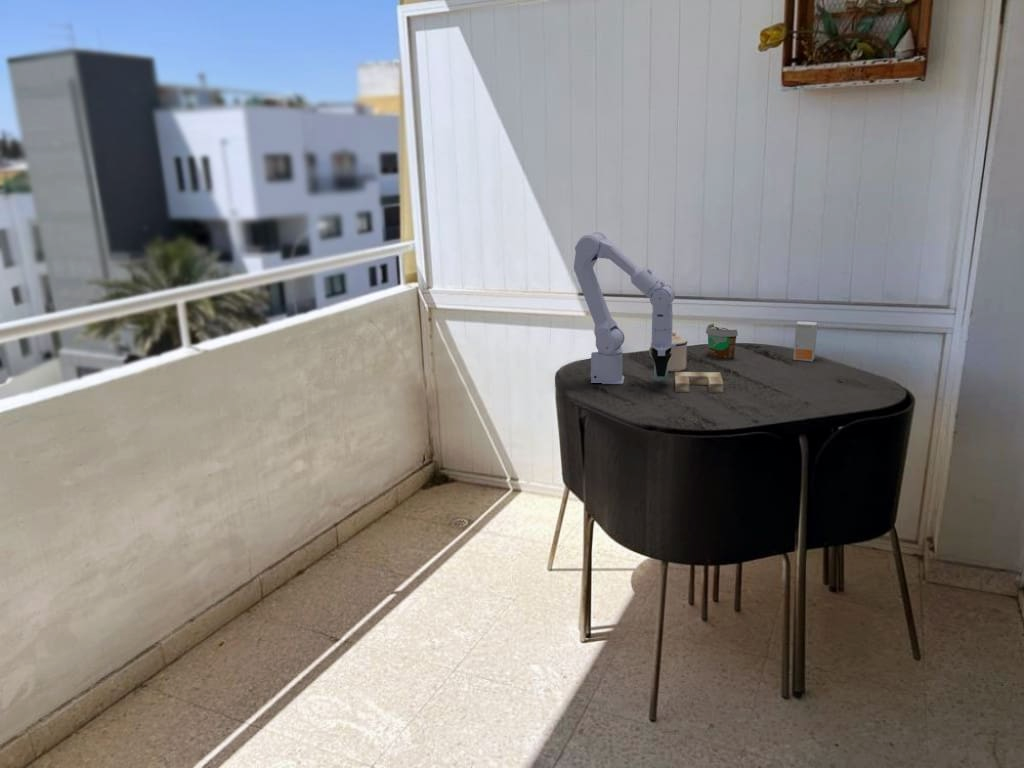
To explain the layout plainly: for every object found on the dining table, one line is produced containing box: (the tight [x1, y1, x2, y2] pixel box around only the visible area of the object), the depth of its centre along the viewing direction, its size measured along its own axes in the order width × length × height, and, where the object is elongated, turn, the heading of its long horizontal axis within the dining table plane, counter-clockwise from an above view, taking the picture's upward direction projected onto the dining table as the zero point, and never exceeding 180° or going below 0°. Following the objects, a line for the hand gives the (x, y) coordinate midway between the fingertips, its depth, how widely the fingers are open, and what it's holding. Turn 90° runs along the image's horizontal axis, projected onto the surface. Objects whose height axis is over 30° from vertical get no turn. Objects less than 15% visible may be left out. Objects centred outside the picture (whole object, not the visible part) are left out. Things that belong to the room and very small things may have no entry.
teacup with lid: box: [648, 331, 689, 372], centre depth 228 cm, size 12×9×12 cm
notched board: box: [674, 371, 724, 393], centre depth 209 cm, size 13×12×2 cm
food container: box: [705, 323, 739, 360], centre depth 238 cm, size 12×6×10 cm, turn 25°
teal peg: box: [653, 362, 669, 382], centre depth 211 cm, size 4×4×5 cm
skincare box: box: [793, 320, 819, 362], centre depth 231 cm, size 6×4×12 cm
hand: (660, 374), depth 211 cm, fingers closed on teal peg, 4 cm apart
